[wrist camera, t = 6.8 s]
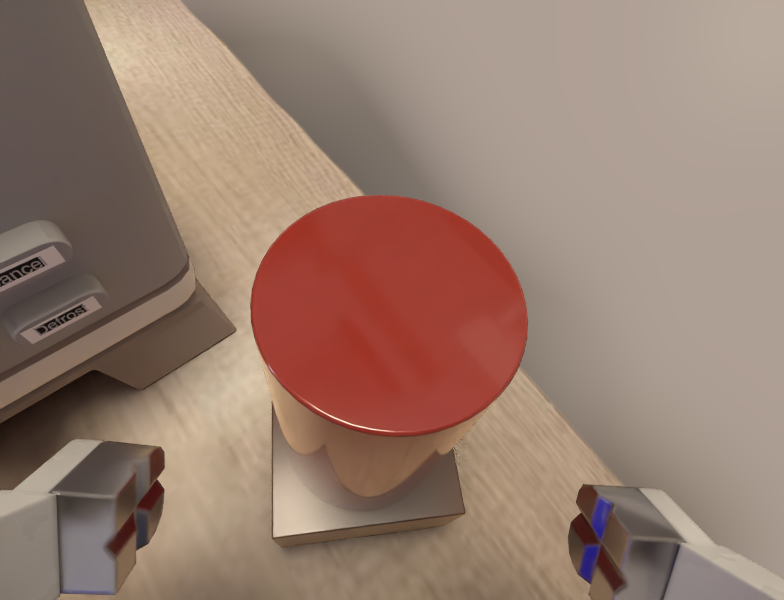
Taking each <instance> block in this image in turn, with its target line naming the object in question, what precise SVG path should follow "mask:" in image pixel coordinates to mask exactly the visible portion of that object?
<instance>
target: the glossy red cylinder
mask: <svg viewBox="0 0 784 600" xmlns="http://www.w3.org/2000/svg"><path fill="white" fill-rule="evenodd" d="M250 308H251V323H252V328H253V333H254V337H255V341H256V345H257V348H258V352H259V355H260V359H261V362H262V366H263V370H264V373H265V377H266V380H267V384H268V387H269V391H270V394H271V398H272V401H273V405H274V408H275V412H276V416H277V419H278V423H279V426H280V430H281V433H282V437H283V440H284V444H285V447H286V451H287V454H288V458H289V460H290V463H291V466H292V468H293V470H294V471H295V473H296V475H297V477H298V478H299V479H300V481H301V482H302V483H303V485H304V486H305V487H306V488H307V489H308V490H309V491H310V492H311V493H313V494H314V495H315V496H317V497H318V498H319V499H321V500H323V501H325V502H326V503H328V504H330V505H333V506H336V507H338V508H342V509H346V510H352V511H372V510H377V509H382V508H384V507H387V506H390V505H393V504H395V503H396V502H398V501H400V500H402V499H403V498H405V497H406V496H408V495H409V494H410V493H411V492H412V491H414V490H415V489H416V488H417V487H418V486H419V485H420V483H421V482H422V481H423V480H424V479H425V478H426V477H427V476H428V475H429V473H430V472H431V471H432V470H433V469H434V468H435V467H436V466H437V465H438V464H439V462H440V461H441V460H442V459H443V458H444V457H445V456H446V455H447V454H448V452H449V451H450V450H451V449H452V448H453V447H454V446H455V445H456V444H457V443H458V441H459V440H460V439H461V438H462V437H463V436H464V435H465V434H466V433H467V431H468V430H469V429H470V428H471V427H472V426H473V425H474V424H475V423H476V422H477V420H478V419H479V418H480V417H481V416H482V415H483V414H484V413H485V412H486V410H487V409H488V408H489V407H490V406H491V405H492V404H493V403H494V402H495V401H496V399H497V398H498V397H499V396H500V395H501V394H502V392H503V391H504V390H505V389H506V387H507V386H508V385H509V384H510V382H511V380H512V379H513V377H514V375H515V373H516V371H517V370H518V368H519V365H520V362H521V359H522V357H523V354H524V350H525V345H526V340H527V329H528V319H527V309H526V303H525V298H524V294H523V290H522V288H521V286H520V283H519V280H518V278H517V275H516V274H515V272H514V270H513V268H512V266H511V264H510V263H509V261H508V260H507V259H506V257H505V256H504V254H503V253H502V252H501V250H500V249H499V248H498V247H497V246H496V245H495V244H494V243H493V241H492V240H491V239H490V238H488V237H487V236H486V235H485V234H484V233H483V232H482V231H481V230H479V229H478V228H477V227H475V226H474V225H473V224H471V223H470V222H468V221H467V220H465V219H464V218H462V217H460V216H458V215H457V214H455V213H453V212H451V211H449V210H447V209H444V208H442V207H440V206H437V205H434V204H431V203H428V202H425V201H422V200H417V199H413V198H408V197H401V196H393V195H369V196H358V197H352V198H346V199H343V200H339V201H335V202H332V203H329V204H327V205H324V206H322V207H319V208H317V209H315V210H313V211H311V212H310V213H308V214H306V215H304V216H303V217H301V218H300V219H298V220H297V221H296V222H294V223H293V224H291V225H290V226H289V227H288V228H287V229H286V230H285V231H284V232H283V233H282V234H281V235H280V236H279V237H278V238H277V239H276V241H275V242H274V243H273V244H272V245H271V247H270V248H269V250H268V252H267V253H266V255H265V256H264V258H263V260H262V262H261V264H260V266H259V269H258V271H257V273H256V276H255V280H254V284H253V287H252V294H251V304H250Z"/></svg>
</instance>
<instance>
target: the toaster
mask: <svg viewBox="0 0 784 600" xmlns="http://www.w3.org/2000/svg"><path fill="white" fill-rule="evenodd" d="M235 331H236V328H235V327H234V325H233V324H232V323H231V322H230V320H229V319H228V318H227V317H226V315H225V314H224V313H223V312H222V310H221V309H220V308H219V307H218V305H217V304H216V303H215V302H214V300H213V299H212V298H211V297H210V295H209V294H208V293H207V292H206V290H205V289H204V288H203V287H202V285H201V284H200V283H199V282H198V280H197V279H196V278H195V271H194V267H193V265H192V262H191V260H190V258H189V256H188V254H187V250H186V248H185V245H184V243H183V241H182V238H181V236H180V233H179V231H178V228H177V226H176V224H175V221H174V219H173V216H172V214H171V212H170V209H169V207H168V204H167V202H166V199H165V197H164V195H163V192H162V190H161V187H160V185H159V182H158V180H157V178H156V175H155V173H154V170H153V168H152V165H151V163H150V161H149V158H148V156H147V153H146V151H145V148H144V146H143V144H142V141H141V139H140V136H139V134H138V131H137V129H136V127H135V124H134V122H133V119H132V117H131V115H130V112H129V110H128V107H127V105H126V102H125V100H124V98H123V95H122V93H121V90H120V88H119V85H118V83H117V81H116V78H115V76H114V73H113V71H112V68H111V66H110V64H109V61H108V59H107V56H106V54H105V51H104V49H103V47H102V44H101V42H100V39H99V37H98V35H97V32H96V30H95V27H94V25H93V22H92V20H91V18H90V15H89V13H88V10H87V8H86V5H85V3H84V1H83V0H0V423H2V422H3V421H5V420H7V419H9V418H10V417H12V416H14V415H15V414H17V413H19V412H21V411H22V410H24V409H26V408H27V407H29V406H31V405H33V404H34V403H36V402H38V401H39V400H41V399H43V398H45V397H46V396H48V395H50V394H51V393H53V392H55V391H57V390H58V389H60V388H62V387H63V386H65V385H67V384H69V383H70V382H72V381H74V380H75V379H77V378H79V377H81V376H82V375H84V374H86V373H87V372H89V371H92V370H98V371H100V372H102V373H104V374H106V375H109V376H111V377H113V378H115V379H117V380H119V381H122V382H124V383H126V384H128V385H130V386H132V387H135V388H137V389H139V390H141V389H144V388H145V387H147V386H149V385H150V384H152V383H153V382H155V381H157V380H158V379H160V378H161V377H163V376H165V375H166V374H168V373H169V372H171V371H173V370H174V369H176V368H177V367H179V366H180V365H182V364H184V363H185V362H187V361H188V360H190V359H192V358H193V357H195V356H196V355H198V354H200V353H201V352H203V351H204V350H206V349H208V348H209V347H211V346H212V345H214V344H215V343H217V342H219V341H220V340H222V339H223V338H225V337H227V336H228V335H230V334H231V333H233V332H235Z"/></svg>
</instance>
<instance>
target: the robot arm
mask: <svg viewBox="0 0 784 600" xmlns="http://www.w3.org/2000/svg"><path fill="white" fill-rule="evenodd" d="M164 468H165V459H164V451H163V449H162V448H161V447H159V446H149V445H140V444H131V443H121V442H112V441H104V440H92V439H74V440H72V441H70V442H69V443H68V444H67V445H66V446H64V447H63V448H62V449H61V450H60V451H58V452H57V453H56V454H55V455H54V456H52V457H51V458H50V459H49V460H48V461H47V462H45V463H44V464H43V465H42V466H41V467H39V468H38V469H37V470H36V471H35V472H33V473H32V474H31V475H30V476H29V477H27V478H26V479H25V480H24V481H23V482H21V483H20V484H19V485H18V486H17V487H16V488H14V489H13V490H0V600H56V599H57V598H58V597H60V593H65V594H95V595H116V594H117V593H118V591H119V589H120V588H121V586H122V585H123V583H124V582H125V580H126V578H127V577H128V575H129V574H130V572H131V570H132V569H133V567H134V566H135V564H136V551H137V550H138V549H140V548H142V547H143V546H145V545H147V544H148V543H149V542H150V540H151V538H152V536H153V535H154V533H155V531H156V529H157V526H158V523H159V521H160V518H161V515H162V509H163V503H164V488H163V487H162V486H161V484H160V483H159V481H158V480H157V478H158V477H159V475H160V474H161V472H162V471H163V470H164ZM576 504H577V506H578V508H579V510H580V512H581V513H580V514H579V515H578V516H577V517H576V518H575V519H574V520H573V521H572V522H571V525H570V530H569V535H568V544H569V554H570V557H571V561H572V564H573V566H574V568H575V570H576V572H577V574H578V575H579V576H581V577H582V578H583V579H584V580H586V581H587V582H588V583H589V584H591V587H590V591H589V596H590V598H591V600H784V578H782V577H780V576H778V575H776V574H775V573H773V572H771V571H769V570H767V569H765V568H764V567H762V566H760V565H758V564H756V563H754V562H753V561H751V560H749V559H747V558H745V557H744V556H742V555H740V554H738V553H736V552H734V551H732V550H731V549H729V548H727V547H725V546H717V545H716V544H715V543H714V542H713V541H712V540H711V539H710V538H709V537H708V536H707V535H706V534H705V533H704V532H703V531H702V530H701V529H700V528H699V527H698V526H697V525H696V524H695V523H694V522H693V521H692V520H691V519H690V518H689V517H688V516H687V515H686V514H685V512H683V510H682V509H681V508H680V507H679V506H678V505H677V504H676V503H675V502H674V501H673V500H672V499H671V498H670V497H669V496H668V495H667V494H666V493H665V492H664V491H662V490H659V489H657V488H644V487H643V488H642V487H621V486H604V485H588V484H583V486H582V487H581V489H580V490H579V492H578V496H577V500H576Z"/></svg>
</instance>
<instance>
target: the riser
mask: <svg viewBox="0 0 784 600" xmlns="http://www.w3.org/2000/svg"><path fill="white" fill-rule="evenodd" d="M464 514H465V509H464V504H463V498H462V493H461V488H460V483H459V477H458V472H457V467H456V462H455V457H454V451H453V448H452V449H451V450H450V451H449V452H448V454H447V455H446V456H445V457H444V458H443V459H442V460H441V461H440V462H439V464H438V465H437V466H436V467H435V468H434V469H433V470H432V471H431V472H430V473H429V475H428V476H427V477H426V478H425V479H424V480H423V481H422V482H421V483H420V485H419V486H418V487H417V488H416V489H415V490H414V491H412V492H411V493H410V494H409V495H408V496H406V497H405V498H403V499H402V500H400V501H398V502H396V503H395V504H393V505H390V506H387V507H384V508H382V509H377V510H372V511H352V510H346V509H342V508H338V507H336V506H333V505H330V504H328V503H326V502H325V501H323V500H321V499H319V498H318V497H317V496H315V495H314V494H313V493H311V492H310V491H309V490H308V489H307V488H306V487H305V486H304V485H303V483H302V482H301V481H300V479H299V478H298V477H297V475H296V473H295V471H294V470H293V468H292V466H291V463H290V460H289V458H288V454H287V451H286V447H285V444H284V440H283V437H282V433H281V430H280V426H279V423H278V419H277V416H276V412H275V408H274V405H273V401H272V539H273V540H274V541H275V542H276V543H278V544H279V545H280V546H281V547H288V546H296V545H303V544H311V543H318V542H326V541H333V540H341V539H348V538H356V537H363V536H371V535H378V534H386V533H393V532H401V531H408V530H416V529H423V528H431V527H438V526H443V525H445V524H447V523H449V522H450V521H452V520H454V519H456V518H458V517H460V516H462V515H464Z"/></svg>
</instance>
